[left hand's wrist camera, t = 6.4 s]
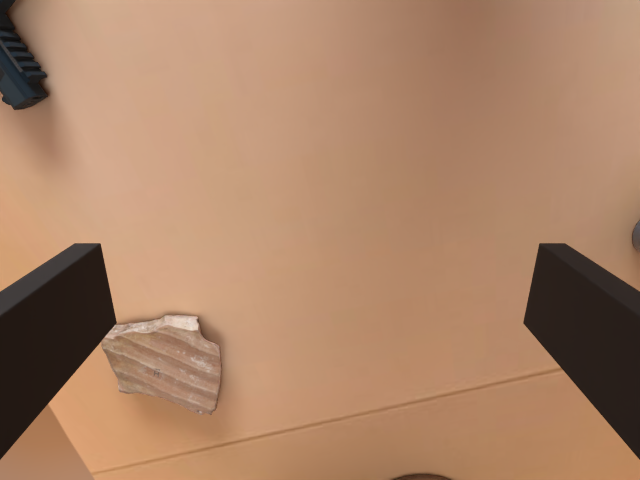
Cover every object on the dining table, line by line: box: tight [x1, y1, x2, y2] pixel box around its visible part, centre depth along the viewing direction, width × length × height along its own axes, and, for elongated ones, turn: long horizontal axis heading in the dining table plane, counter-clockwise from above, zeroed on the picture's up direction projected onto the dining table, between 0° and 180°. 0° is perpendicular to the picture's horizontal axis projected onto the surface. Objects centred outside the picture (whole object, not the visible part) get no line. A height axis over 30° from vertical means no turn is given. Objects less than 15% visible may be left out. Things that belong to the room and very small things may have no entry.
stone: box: [101, 315, 222, 415], centre depth 46 cm, size 13×12×2 cm
